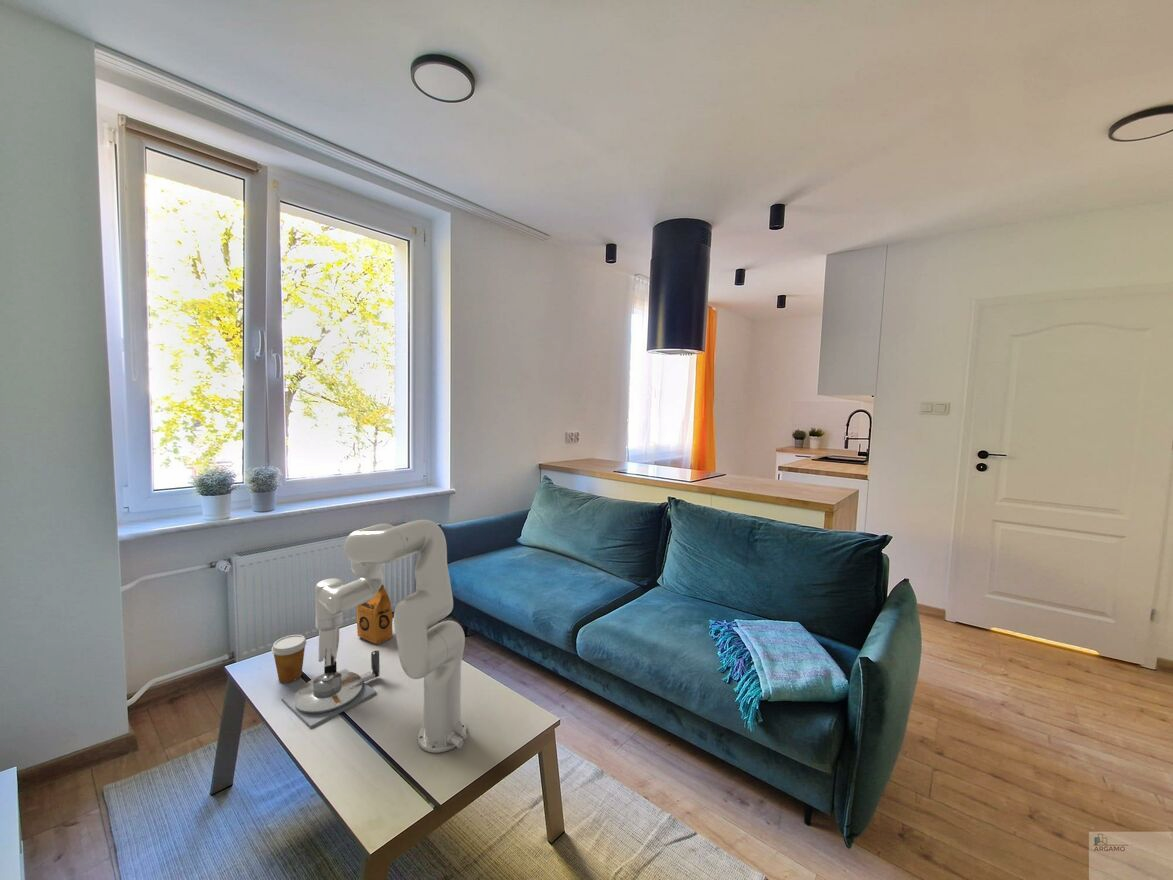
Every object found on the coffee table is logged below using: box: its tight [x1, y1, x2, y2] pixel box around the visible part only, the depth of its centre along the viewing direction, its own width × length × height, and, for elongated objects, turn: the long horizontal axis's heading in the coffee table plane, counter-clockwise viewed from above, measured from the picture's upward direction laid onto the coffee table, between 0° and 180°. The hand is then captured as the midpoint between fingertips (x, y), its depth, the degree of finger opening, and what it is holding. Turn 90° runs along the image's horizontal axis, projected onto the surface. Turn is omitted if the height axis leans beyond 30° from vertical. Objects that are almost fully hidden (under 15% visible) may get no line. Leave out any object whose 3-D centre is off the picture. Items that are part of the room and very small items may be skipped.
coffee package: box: [356, 583, 394, 645], centre depth 173 cm, size 10×12×22 cm
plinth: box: [280, 668, 377, 729], centre depth 140 cm, size 19×19×1 cm
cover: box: [313, 671, 342, 698], centre depth 139 cm, size 8×8×4 cm
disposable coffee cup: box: [271, 634, 307, 683], centre depth 148 cm, size 10×10×12 cm
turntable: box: [295, 650, 381, 714], centre depth 141 cm, size 24×18×8 cm
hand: (330, 675), depth 144 cm, fingers closed
